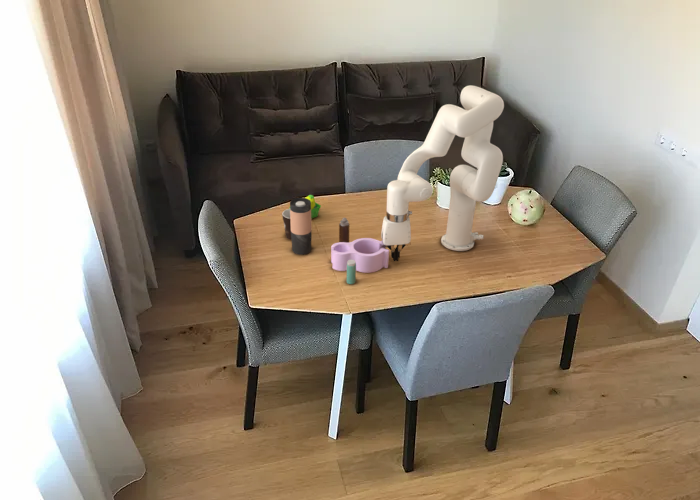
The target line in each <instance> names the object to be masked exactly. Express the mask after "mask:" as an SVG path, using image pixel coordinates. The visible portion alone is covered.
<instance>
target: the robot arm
mask: <svg viewBox="0 0 700 500" xmlns="http://www.w3.org/2000/svg"><path fill="white" fill-rule="evenodd" d="M459 100H460V104H461V106H462V107H460V106H458V105H455V104H450V103H448V104H447V103H446V104H444V105H442V106H441V107H440V108H439V109H438V111H437V113H436V116H435V118H434V120H433V122H432V124H431V127H430V129H429V131H428V133H427V135H426V138H425V139H424V142H423V143H422V144H421V146H419V147H417V148H416V149H415V150H413V151H412V152H411V153H410V154H409V155H408V156H407V157H406V159H405V160H404V162H403V163H402V166H401V168H400V170H399V172H398V175H397V179H393V180H391V181H390V182H389V183H388V184H387V187H386V214H385V216H383V220H382V226H381V233H380V239H381V241H382V243H381V246H382V247H385V249H388V250H389V251H390V258H391V259H392V260H393V262H399V259H400V258H401V252H402V250H403V249H404V248H405V247H407V246H410V245H411V244H412V242H411V240H412V227H411V219H410V216H412V215H413V211H412V210H409V205H410V203H418V202H419V203H420V202H425V201H427V200H429V199H430V198H431V197H432V195H433V193H434V192H433V191H434V188H433V185H432V184H431V183H430V182H429V181H428V180H426V179H424V178H423V177H422V176H421V175H418V172H419V171H420V169H421V166H423V164H424V163H425V162H426V161H428V160H430V159H433V158H441V157H442V158H443V157H444V156H446V155H447V154H448V151H449V150H450V147H451V145H452V144H453V141H454V139H455V137H456V136H457V137H459V138H464V140H463V143H462V148H461V151H460V152H461V153H460V155H461V159H463V161H464V162H465V163H467V164H458V165H457V166H455V167H454V168H453V169H452V170H451V172H450V175H449V191H450V197H449V205H448V216H447V221H446V232H445V234H443V235H442V236H441V239H440V242H441V245H442V246H443V247H444V248H446V249H448V250H451V251H455V252H465V251H468V250H471V249H472V248H474V246H475V241H483V240H484V234H479V232H473V226H474V219H475V211H476V205H477V203H478V202H479V203H483V202H486V201H488V200H489V199H490V198H491V197H492V196H493V193H494V191H495V188H496V186H497V182H498V180H499V176H500V173H501V169H502V167H503V163H504V156H503V152H502V150H501V149H500V147H498V146H496V145H495V144H493V143H491V138H492V133H493V129H494V121H496V120H497V119H498V118H499V117H500V116H501V115H502V113H503V111H504V108H505V102H504V99H503V98H502V97H501V96H500V95H498V94H497V93H495V92H492V91H489V90H487V89H484V88H482V87H480V86H477V85H471V84H470V85H466V86H465V87H463V88H462V89H461V92H460V97H459ZM474 167H475V168H474ZM395 246H396V247H395Z"/></svg>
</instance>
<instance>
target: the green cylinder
mask: <svg viewBox="0 0 700 500" xmlns="http://www.w3.org/2000/svg"><path fill="white" fill-rule="evenodd" d="M345 279H346V283H347V284H348V285H354V284H356V282H357V281H356V280H357V271H356V261H355V260H348V261H347V270H346V278H345Z"/></svg>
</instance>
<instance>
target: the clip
mask: <svg viewBox="0 0 700 500" xmlns="http://www.w3.org/2000/svg"><path fill="white" fill-rule="evenodd" d="M381 243H382V240H378V239H376V238H371V237H361V238H356V239H354V240H353V241H349V243H346V242H339V241H338V242H334V243H333V244H331V246H330V248H331V249H330V252H331V253H330V255H331V256H330V258H331V259H330V262H331V264H332V265H331V266H332V269H333V270H335V271H340V272H345V271H346V272H347V261H348V260H355V261H356V272H360V273H365V274H367V273H370V274H371V273H375V272H377V271H380V270H381V269H383V268H385V269H388V268H389V261H390V260H389V257H390V249H388V248H386V247H382V246H381Z"/></svg>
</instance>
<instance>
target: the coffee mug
mask: <svg viewBox="0 0 700 500" xmlns="http://www.w3.org/2000/svg"><path fill="white" fill-rule="evenodd" d="M281 216H282V221H283V222H282V223H283V227H284V232H285V238H286V239H287V240H290V241H292V240H291V221H290V208H287V209H284V210H283V211H282V212H281Z"/></svg>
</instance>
